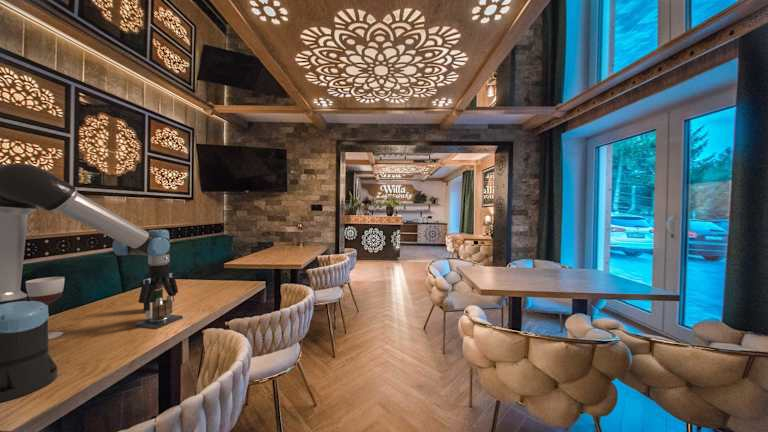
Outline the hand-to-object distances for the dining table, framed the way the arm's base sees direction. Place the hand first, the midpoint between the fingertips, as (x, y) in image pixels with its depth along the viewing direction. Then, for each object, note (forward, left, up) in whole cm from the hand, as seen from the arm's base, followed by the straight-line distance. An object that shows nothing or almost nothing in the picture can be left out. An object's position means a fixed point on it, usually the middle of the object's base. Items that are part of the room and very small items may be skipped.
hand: (159, 313), depth 128 cm
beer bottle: (+12, +18, -4) cm, 22 cm away
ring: (0, 0, 0) cm, 0 cm away
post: (0, 0, -4) cm, 4 cm away
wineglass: (-21, +30, -4) cm, 37 cm away
